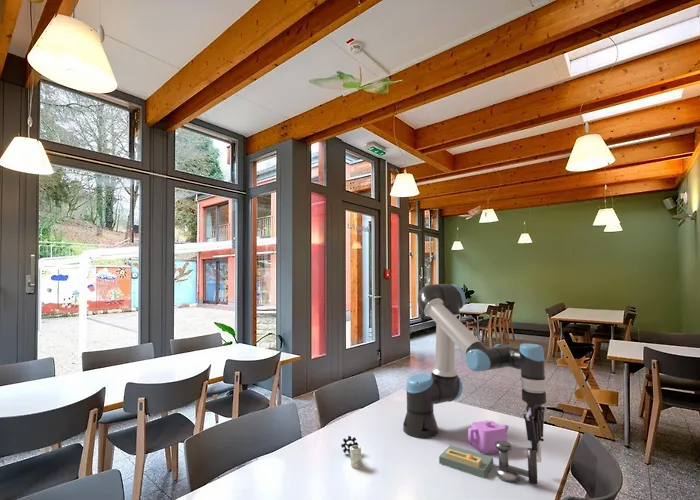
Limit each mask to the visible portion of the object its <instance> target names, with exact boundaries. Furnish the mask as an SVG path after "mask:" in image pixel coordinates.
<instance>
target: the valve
mask: <svg viewBox="0 0 700 500" xmlns="http://www.w3.org/2000/svg"><path fill="white" fill-rule="evenodd" d="M350 441H351V442H350ZM355 441H357V438H356V437H355V436H354V437H352V436H351V435H348V436H347V438H343V439H342V442H344V443H341V444H340V445H341V446H340V447H341V448H342V449H343V450H342V452H343V453H345V454H346V453H348V455H349V457H350V458H349V459H350V467H351V469H360V468H361V467H362V459H363V457H362V456H363V455H362V447H361V446H360V445H359V443H358V442H355ZM352 442H353V443H352ZM346 446H347V447H346Z"/></svg>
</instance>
